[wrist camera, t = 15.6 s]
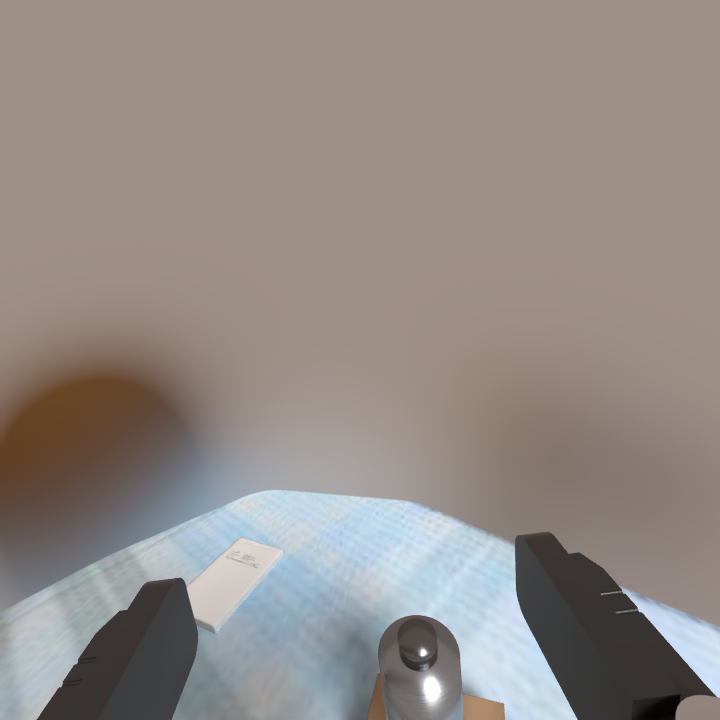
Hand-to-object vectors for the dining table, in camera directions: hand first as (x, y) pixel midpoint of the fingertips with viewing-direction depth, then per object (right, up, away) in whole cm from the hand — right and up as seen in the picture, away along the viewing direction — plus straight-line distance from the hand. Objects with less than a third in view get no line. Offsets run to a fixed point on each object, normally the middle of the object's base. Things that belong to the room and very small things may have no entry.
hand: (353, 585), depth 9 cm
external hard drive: (-17, -24, +40) cm, 50 cm away
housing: (+5, -22, +17) cm, 28 cm away
